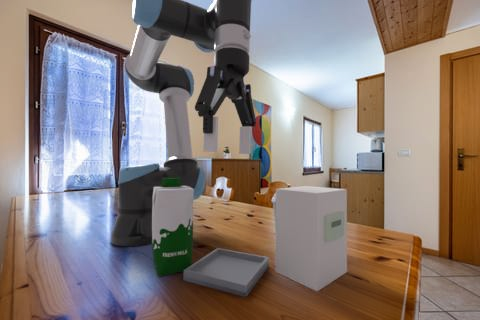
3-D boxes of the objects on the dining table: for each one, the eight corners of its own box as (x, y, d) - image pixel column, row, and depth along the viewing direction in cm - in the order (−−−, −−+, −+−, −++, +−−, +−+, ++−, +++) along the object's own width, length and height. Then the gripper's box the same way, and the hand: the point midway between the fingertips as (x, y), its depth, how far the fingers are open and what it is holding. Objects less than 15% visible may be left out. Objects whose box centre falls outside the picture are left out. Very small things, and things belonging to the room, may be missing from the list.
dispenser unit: (274, 271, 50) (274, 188, 50) (305, 257, 58) (305, 185, 58) (321, 293, 41) (320, 193, 42) (350, 273, 49) (350, 189, 49)
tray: (183, 280, 46) (183, 270, 46) (217, 255, 58) (217, 247, 58) (245, 297, 40) (245, 285, 40) (269, 266, 52) (269, 257, 52)
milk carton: (186, 256, 58) (187, 177, 58) (196, 271, 50) (197, 179, 50) (149, 262, 54) (150, 177, 54) (154, 280, 46) (155, 180, 46)
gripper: (210, 17, 36) (207, 150, 36) (270, 71, 58) (268, 154, 58) (176, 29, 40) (173, 150, 40) (244, 75, 62) (242, 154, 62)
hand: (229, 153), depth 49 cm, fingers open, 13 cm apart
